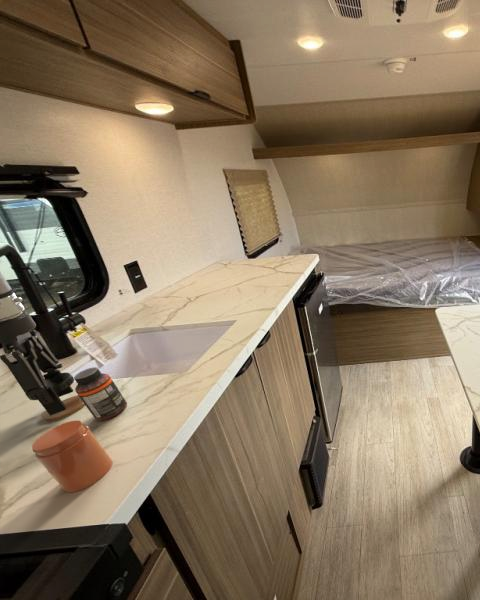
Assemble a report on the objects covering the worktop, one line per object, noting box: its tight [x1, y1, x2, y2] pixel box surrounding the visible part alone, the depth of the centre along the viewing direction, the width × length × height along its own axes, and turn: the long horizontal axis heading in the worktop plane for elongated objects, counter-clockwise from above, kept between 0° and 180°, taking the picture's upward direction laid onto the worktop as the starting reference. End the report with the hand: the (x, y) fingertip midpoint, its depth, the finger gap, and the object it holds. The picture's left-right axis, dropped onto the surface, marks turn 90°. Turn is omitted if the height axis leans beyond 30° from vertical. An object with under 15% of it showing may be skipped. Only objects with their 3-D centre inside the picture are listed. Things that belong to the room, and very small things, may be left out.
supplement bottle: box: [73, 366, 128, 421], centre depth 71 cm, size 6×6×11 cm
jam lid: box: [26, 372, 75, 401], centre depth 74 cm, size 8×8×2 cm
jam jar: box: [31, 419, 113, 493], centre depth 55 cm, size 7×7×10 cm
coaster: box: [42, 394, 86, 422], centre depth 76 cm, size 8×8×1 cm
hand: (62, 402), depth 76 cm, fingers closed on jam lid, 8 cm apart
